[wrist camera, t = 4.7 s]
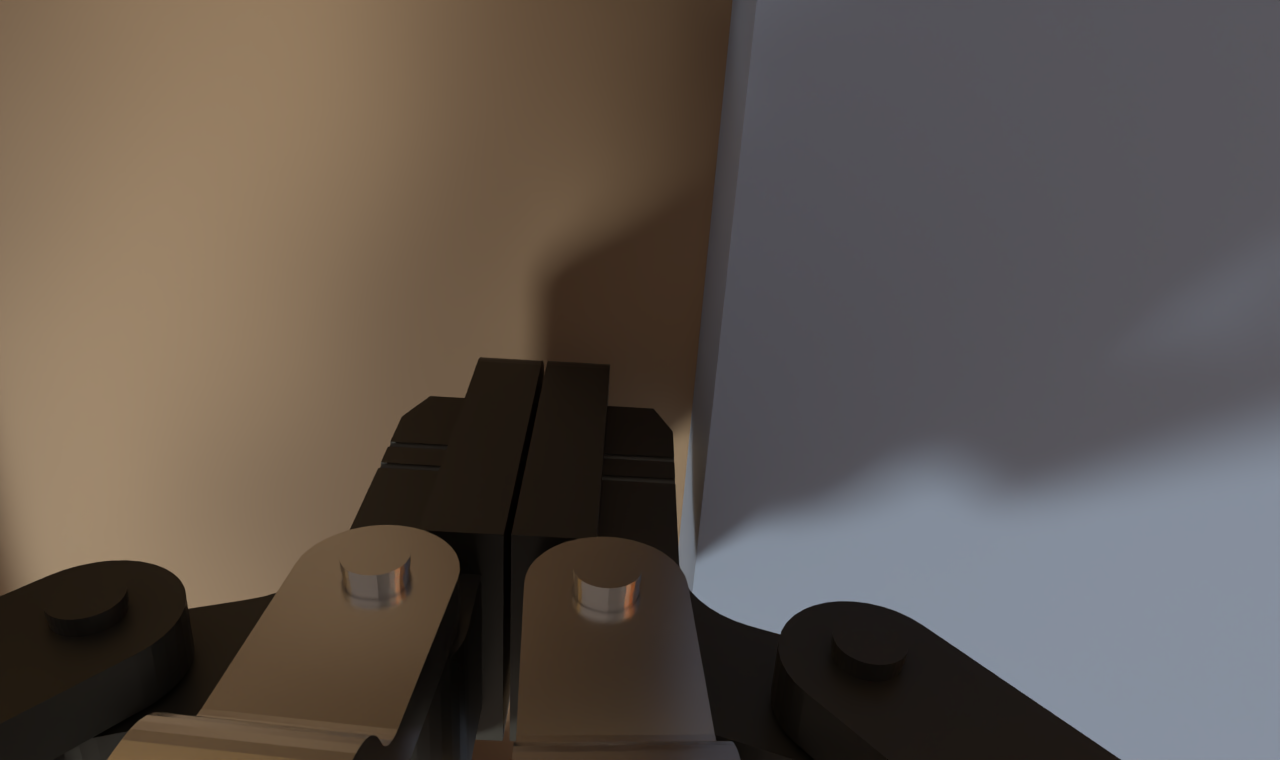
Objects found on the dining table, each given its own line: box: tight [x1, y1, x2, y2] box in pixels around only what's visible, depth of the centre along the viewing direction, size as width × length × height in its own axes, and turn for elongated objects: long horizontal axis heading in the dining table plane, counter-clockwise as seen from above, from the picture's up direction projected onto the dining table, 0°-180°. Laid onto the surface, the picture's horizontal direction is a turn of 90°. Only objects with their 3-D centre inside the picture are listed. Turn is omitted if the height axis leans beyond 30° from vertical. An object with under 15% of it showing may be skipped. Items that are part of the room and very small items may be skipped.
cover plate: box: [678, 0, 1280, 760], centre depth 12 cm, size 9×12×2 cm
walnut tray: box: [0, 0, 733, 760], centre depth 12 cm, size 18×15×4 cm
